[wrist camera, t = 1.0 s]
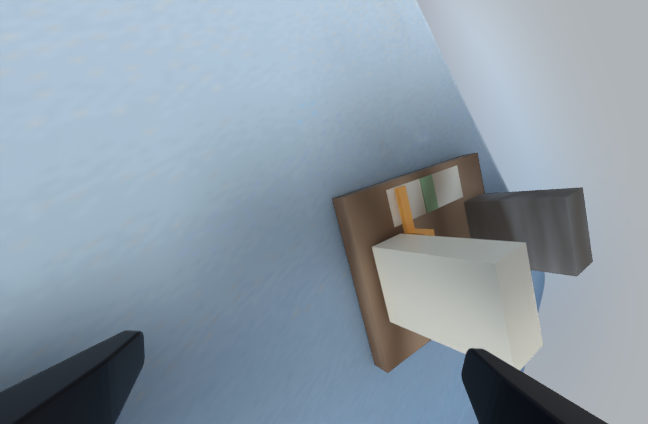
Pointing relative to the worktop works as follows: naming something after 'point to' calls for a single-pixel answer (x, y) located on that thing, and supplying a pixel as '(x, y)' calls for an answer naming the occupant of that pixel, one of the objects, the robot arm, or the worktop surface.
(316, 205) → the worktop surface
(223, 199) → the worktop surface
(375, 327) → the board
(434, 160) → the worktop surface
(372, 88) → the worktop surface
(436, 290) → the cream eraser-shaped block
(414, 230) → the drag pointer
